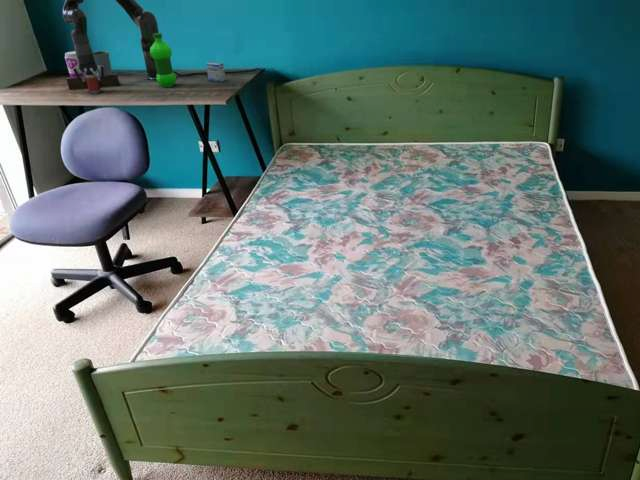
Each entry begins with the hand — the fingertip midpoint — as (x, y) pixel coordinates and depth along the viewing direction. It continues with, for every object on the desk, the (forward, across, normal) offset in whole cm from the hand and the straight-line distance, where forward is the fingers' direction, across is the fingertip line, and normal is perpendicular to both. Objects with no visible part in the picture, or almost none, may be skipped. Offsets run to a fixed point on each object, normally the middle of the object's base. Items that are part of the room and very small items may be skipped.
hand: (94, 88), depth 297 cm
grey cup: (+2, +2, +35) cm, 35 cm away
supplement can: (+2, -9, +24) cm, 26 cm away
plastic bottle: (+2, +35, -1) cm, 35 cm away
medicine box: (+2, +60, 0) cm, 60 cm away
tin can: (+2, 0, 0) cm, 2 cm away
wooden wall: (+2, -1, +12) cm, 12 cm away
